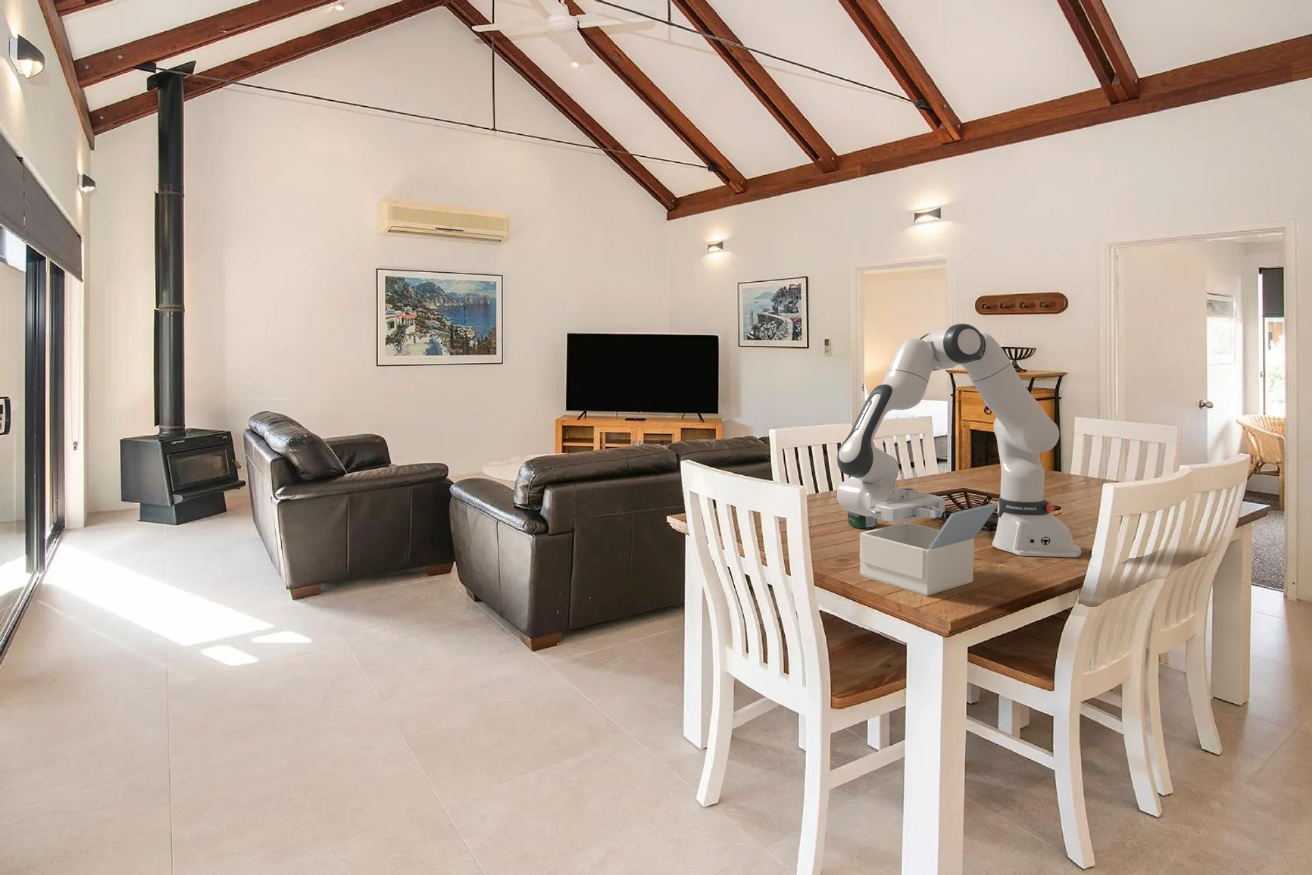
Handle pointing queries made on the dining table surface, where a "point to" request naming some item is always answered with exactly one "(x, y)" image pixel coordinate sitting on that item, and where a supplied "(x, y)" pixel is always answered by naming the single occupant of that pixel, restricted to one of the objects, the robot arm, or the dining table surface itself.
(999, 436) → the robot arm
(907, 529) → the carton
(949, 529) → the lid flap
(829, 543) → the dining table surface
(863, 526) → the coffee jar
